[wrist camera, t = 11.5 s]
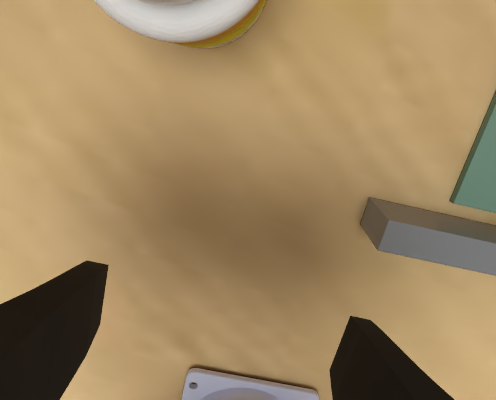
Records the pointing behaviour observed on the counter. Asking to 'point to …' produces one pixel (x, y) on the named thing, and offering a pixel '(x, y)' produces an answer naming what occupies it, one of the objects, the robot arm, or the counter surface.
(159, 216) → the counter surface
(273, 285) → the counter surface
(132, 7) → the supplement bottle
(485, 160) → the rubber mat
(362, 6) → the counter surface
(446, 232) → the low wall
